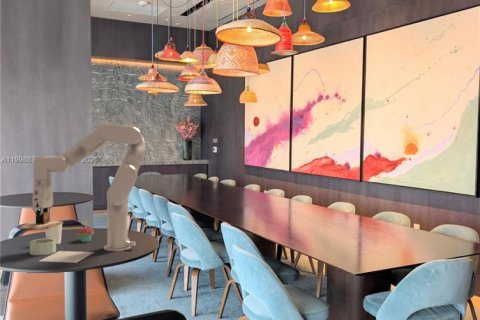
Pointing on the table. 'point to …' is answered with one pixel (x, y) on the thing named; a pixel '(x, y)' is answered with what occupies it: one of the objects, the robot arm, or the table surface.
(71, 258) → the mat
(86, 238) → the cupcake
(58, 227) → the white cup
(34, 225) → the lid
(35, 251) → the bowl
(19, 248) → the table surface
